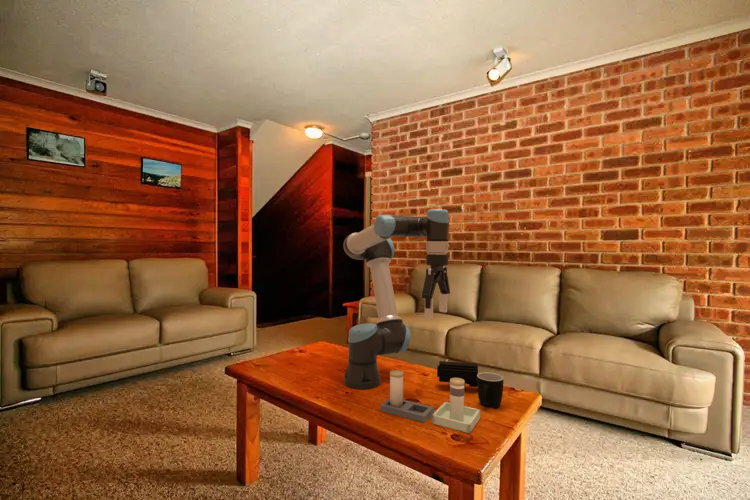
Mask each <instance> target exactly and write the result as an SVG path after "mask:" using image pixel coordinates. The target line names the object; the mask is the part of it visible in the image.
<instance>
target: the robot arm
mask: <svg viewBox="0 0 750 500" xmlns="http://www.w3.org/2000/svg"><path fill="white" fill-rule="evenodd" d="M449 227H450V217H449V211H448V210H447V209H445V208H433V209H432V208H431V209H428V210H427V212H426V216H407V215H393V214H379V215H377V216H376V217H375V219H374V223H373V224H371V225H370V226H368V227H366V228H364V229H362V230H361V231H359V232H352V233H351V234H349V235H347V236H346V237H345V239H344V241H343V250H344V251H343V252H345V254H346V255H347V256H349V258H351V259H354V260H357V261H359V260H361V261H363V260H364V261H365V264H366V266H367V267H368V268H369V269H370V274H371V279H372V286H373V293H374V298H375V299H374V300H375V305H376V311H377V316H378V317H377V318H378V319H377V321H376V323H370V322H369V323H360V324H357V325H354V326H352V327H351V328H350V329H349V331H348V338H347V341H348V364H347V367H346V370H345V373H344V378H343V383H344V385H345V386H346V387H348V388H351V389H355V390H369V389H374V388H376V387H378V386H380V385H381V383H382V378H381V377H382V376H381V374H380V373H381V372H380V369H379V367H378V356H383V355H391V354H399V353H402V352H403V353H404V352H406V350H407V349H408V348H409V346H410V343H411V337H412V336H411V331H410V330H411V329H410V328H409V326H408V324H406V323H404V322H403V318H401V317H400V316H399V315H398V310H397V309H398V308H397V303H396V299H395V298H396V297H395V292H394V287H393V280H392V275H391V269H390V263H392V258H393V257H394V255H395V244H394V243H393V240H392V238H395V237H399V238H401V237H404V238H418V239H420V238H426V244H425V245H426V247H425V248H426V250H425V251H426V257H425V259H426V260H425V262H426V263H425V264H426V266H430V268H426V270H425V277H424V283H423V288H422V293H421V298H422V299H424V319H432V320H433V319H434V298H433V296H434V293H435V289H436V286H438V289H439V291H440V293H439V296H438V297H439V302H438V303H439V310H438V311H439V312H441V313H447V312H448V295H450V294H451V291H450V283H449V276H448V267H447V266H448V265H449V255H448V253H449V248H450V244H449V240H450V239H449V237H450V236H449V230H450V228H449ZM437 284H438V285H437Z"/></svg>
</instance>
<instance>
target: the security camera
mask: <svg viewBox="0 0 750 500" xmlns="http://www.w3.org/2000/svg"><path fill="white" fill-rule="evenodd" d="M478 367H479V366H478V363H477V362H476V363H473V362H460V361H458V362H457V361H444V360H439V363H438V365H437V367H436V368H437V369H436V377H437V378H438V381H439V383H450V379H451V378H461V379H463V380H465V385H464V392H465V391H466V385H468V387H471V388H472V387H473V388H477V375H478V374H479V368H478ZM476 391H477V393H478V390H477V389H476Z"/></svg>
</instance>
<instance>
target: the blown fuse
mask: <svg viewBox="0 0 750 500" xmlns="http://www.w3.org/2000/svg"><path fill="white" fill-rule="evenodd" d="M464 385H465V386H466V384H465V380H463V379H461V378H451V379H450V382H449V403H450V419H453V420H457V421H461V422H463V421H464V406H465V391H464Z"/></svg>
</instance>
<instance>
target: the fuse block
mask: <svg viewBox="0 0 750 500" xmlns="http://www.w3.org/2000/svg"><path fill="white" fill-rule="evenodd" d="M389 379H390V380H389V398H388V399H387V400H385V401H383V402H382V403H381V404H380V406H379V407H380V412H382V413H385V414H386V413H387V414H390V415H393V416H397V417H401V418H404V419H408V420H412V421H415V422H420V423H423V424H426V423H427V421H428V420H429V419H431V418H432V415H433V413H434V412H435V406H431V405H426V404H423V403H419V402H414V401H411V400H406V399H404V371H403V370H401V369H392V370H390V371H389Z"/></svg>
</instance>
